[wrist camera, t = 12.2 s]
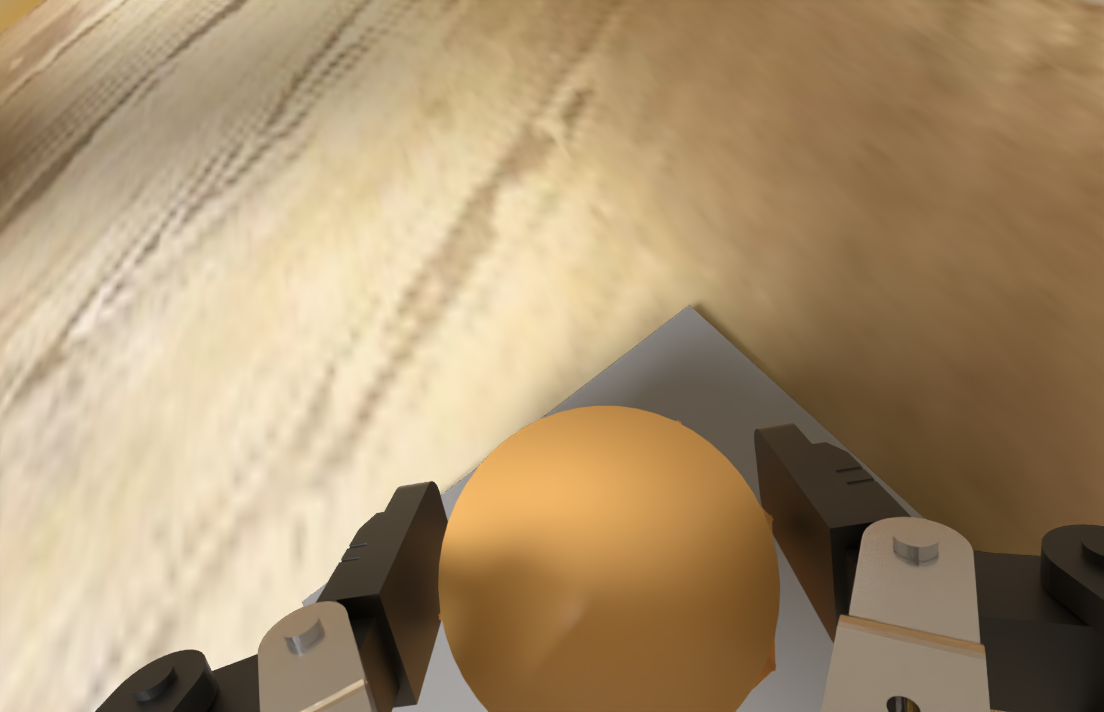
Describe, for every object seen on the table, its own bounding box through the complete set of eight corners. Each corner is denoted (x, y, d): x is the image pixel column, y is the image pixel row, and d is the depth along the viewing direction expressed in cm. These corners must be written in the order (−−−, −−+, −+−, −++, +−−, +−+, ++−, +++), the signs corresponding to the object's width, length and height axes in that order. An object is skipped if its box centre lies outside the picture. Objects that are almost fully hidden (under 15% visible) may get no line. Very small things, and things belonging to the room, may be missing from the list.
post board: (532, 1033, 14) (410, 1403, 7) (326, 605, 20) (141, 579, 13) (980, 598, 17) (1211, 559, 10) (687, 326, 22) (700, 174, 15)
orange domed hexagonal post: (613, 768, 15) (571, 870, 8) (492, 582, 18) (380, 535, 10) (774, 621, 16) (864, 595, 9) (637, 464, 18) (621, 348, 11)
